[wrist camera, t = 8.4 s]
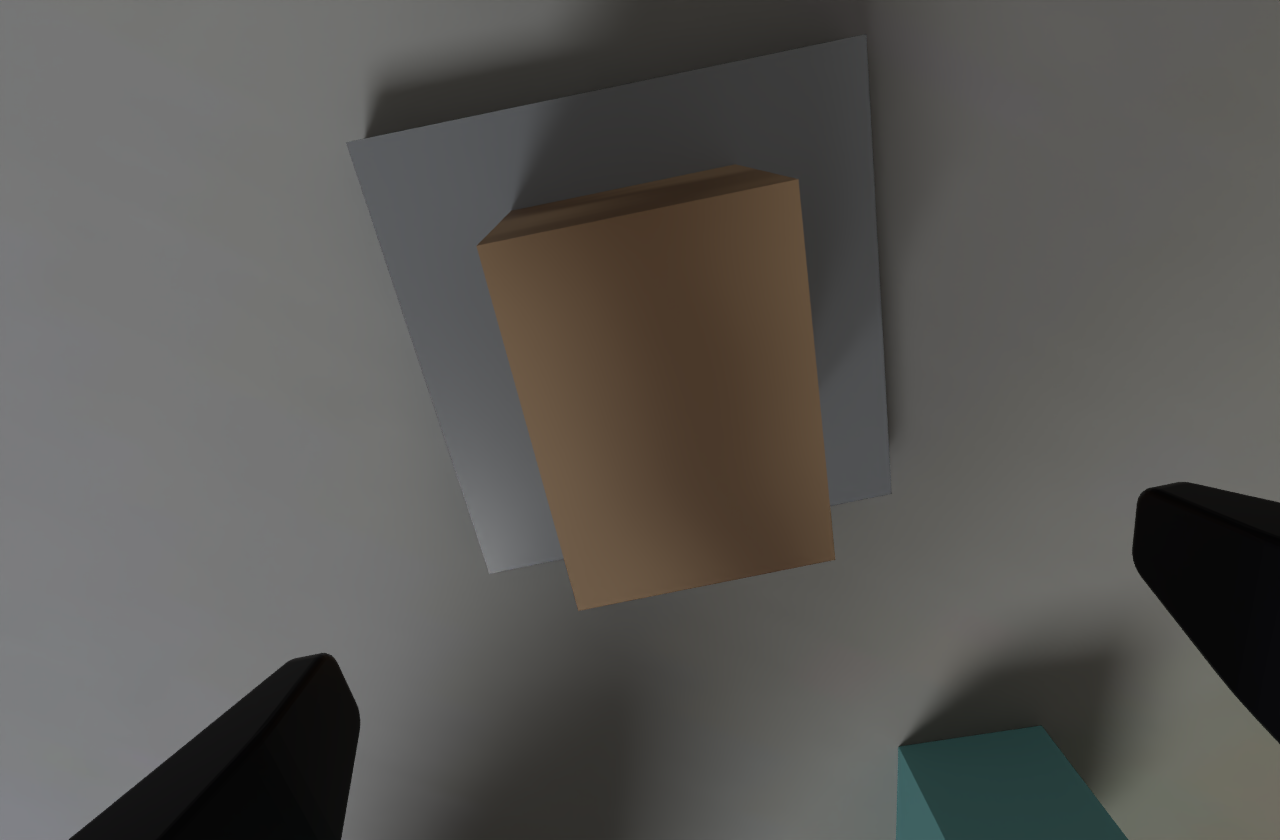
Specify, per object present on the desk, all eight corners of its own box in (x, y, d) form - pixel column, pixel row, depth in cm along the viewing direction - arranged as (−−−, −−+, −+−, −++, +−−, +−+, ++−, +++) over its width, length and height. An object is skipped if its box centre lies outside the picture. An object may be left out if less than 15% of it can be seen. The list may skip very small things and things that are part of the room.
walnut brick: (581, 487, 18) (578, 610, 13) (510, 210, 15) (476, 245, 11) (772, 449, 18) (835, 559, 13) (735, 164, 15) (798, 179, 11)
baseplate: (494, 549, 20) (489, 573, 19) (363, 141, 16) (346, 142, 15) (874, 473, 20) (891, 493, 19) (846, 41, 15) (866, 34, 14)
